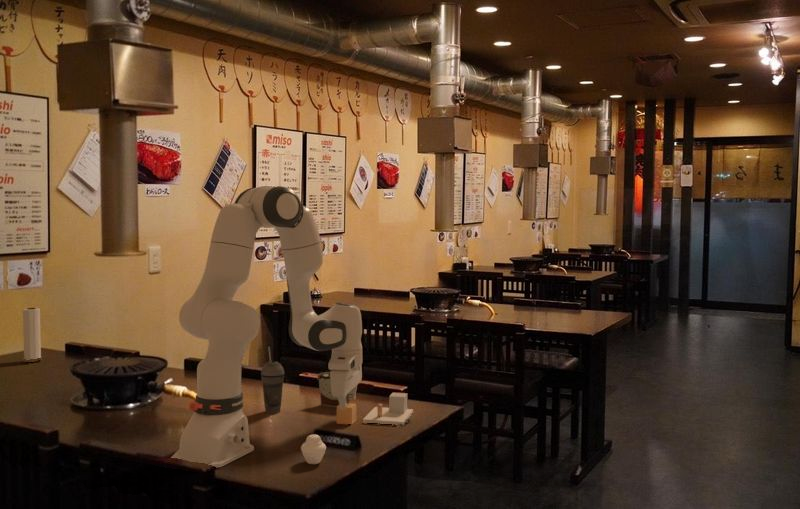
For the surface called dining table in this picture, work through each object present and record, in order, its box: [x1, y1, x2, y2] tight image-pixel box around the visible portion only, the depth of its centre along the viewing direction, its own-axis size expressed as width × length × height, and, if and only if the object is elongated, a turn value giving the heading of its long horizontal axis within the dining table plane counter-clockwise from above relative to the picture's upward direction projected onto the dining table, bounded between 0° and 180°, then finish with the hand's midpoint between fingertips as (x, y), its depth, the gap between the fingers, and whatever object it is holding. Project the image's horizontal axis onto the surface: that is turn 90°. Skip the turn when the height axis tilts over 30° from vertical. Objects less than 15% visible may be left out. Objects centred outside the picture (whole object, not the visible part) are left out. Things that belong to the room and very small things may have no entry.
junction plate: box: [362, 392, 414, 426], centre depth 225 cm, size 14×12×6 cm
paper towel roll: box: [22, 307, 42, 360], centre depth 299 cm, size 7×6×21 cm
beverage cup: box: [260, 346, 286, 415], centre depth 230 cm, size 7×7×20 cm
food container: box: [316, 371, 350, 408], centre depth 240 cm, size 12×6×10 cm, turn 63°
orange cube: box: [336, 402, 357, 426], centre depth 220 cm, size 5×5×5 cm
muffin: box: [300, 433, 327, 465], centre depth 186 cm, size 6×6×7 cm
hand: (347, 404), depth 221 cm, fingers open, 8 cm apart
